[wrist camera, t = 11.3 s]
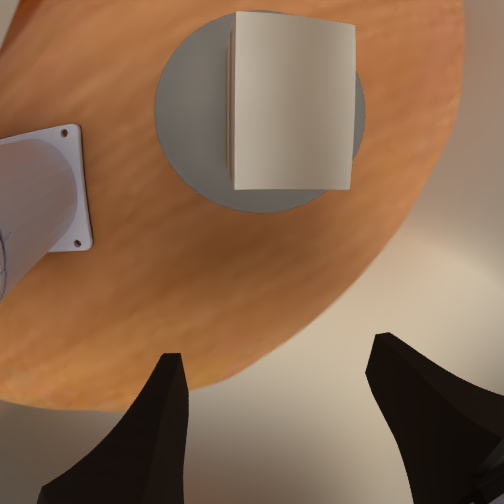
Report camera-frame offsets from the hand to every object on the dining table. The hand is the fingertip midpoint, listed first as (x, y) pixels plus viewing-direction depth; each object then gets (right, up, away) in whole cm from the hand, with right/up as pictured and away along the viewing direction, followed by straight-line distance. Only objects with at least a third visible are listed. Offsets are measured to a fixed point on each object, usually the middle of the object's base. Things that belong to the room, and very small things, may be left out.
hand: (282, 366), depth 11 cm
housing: (0, +11, +4) cm, 12 cm away
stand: (-1, +12, +6) cm, 14 cm away
